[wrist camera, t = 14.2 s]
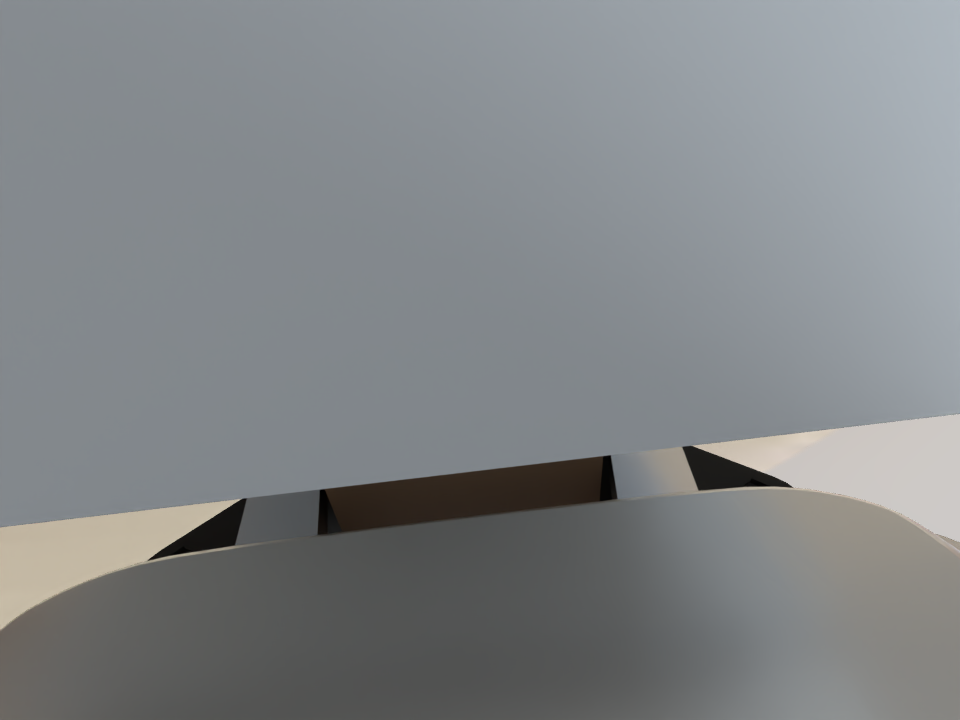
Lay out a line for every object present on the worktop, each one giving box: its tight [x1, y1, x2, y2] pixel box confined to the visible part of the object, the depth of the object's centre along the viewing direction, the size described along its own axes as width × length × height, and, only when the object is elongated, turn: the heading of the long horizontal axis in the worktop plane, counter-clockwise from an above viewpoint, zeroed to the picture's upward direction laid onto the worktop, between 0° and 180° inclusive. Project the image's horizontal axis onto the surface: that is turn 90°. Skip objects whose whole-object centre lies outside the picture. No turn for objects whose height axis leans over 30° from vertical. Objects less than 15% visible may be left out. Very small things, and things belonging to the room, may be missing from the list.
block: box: [325, 456, 603, 532], centre depth 10 cm, size 4×4×6 cm
